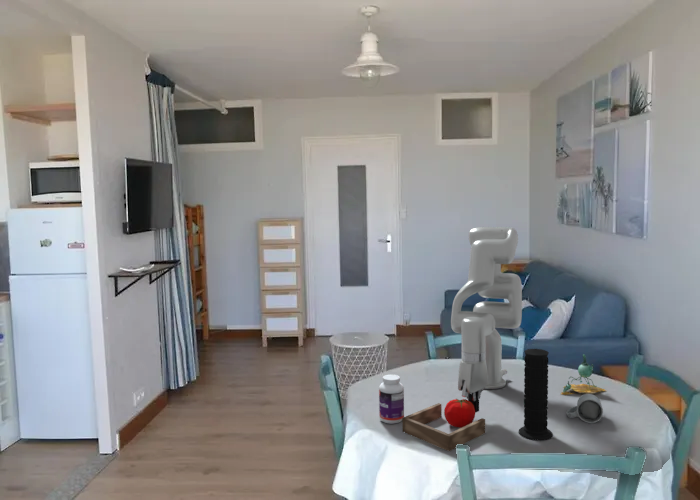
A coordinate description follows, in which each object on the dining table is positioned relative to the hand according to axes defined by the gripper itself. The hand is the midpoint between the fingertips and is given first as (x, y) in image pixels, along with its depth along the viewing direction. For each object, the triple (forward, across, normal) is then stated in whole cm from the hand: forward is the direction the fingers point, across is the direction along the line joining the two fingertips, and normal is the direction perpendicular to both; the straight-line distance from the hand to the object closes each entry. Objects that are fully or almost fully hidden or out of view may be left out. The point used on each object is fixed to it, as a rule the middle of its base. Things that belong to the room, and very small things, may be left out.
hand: (473, 410), depth 187 cm
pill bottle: (+3, +19, -18) cm, 27 cm away
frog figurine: (+3, -48, +12) cm, 49 cm away
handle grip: (+3, -4, +20) cm, 20 cm away
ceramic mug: (+3, -26, +25) cm, 36 cm away
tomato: (+3, +7, 0) cm, 8 cm away
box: (+3, +14, 0) cm, 15 cm away
